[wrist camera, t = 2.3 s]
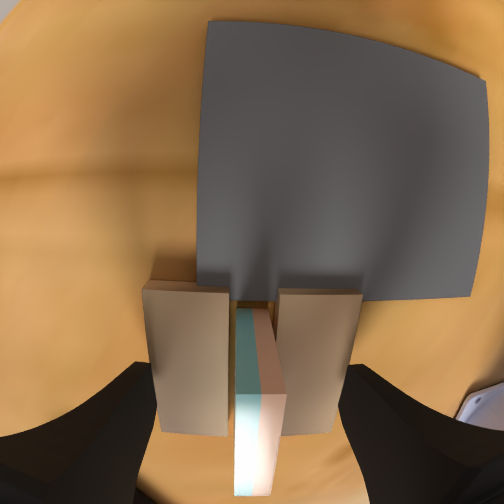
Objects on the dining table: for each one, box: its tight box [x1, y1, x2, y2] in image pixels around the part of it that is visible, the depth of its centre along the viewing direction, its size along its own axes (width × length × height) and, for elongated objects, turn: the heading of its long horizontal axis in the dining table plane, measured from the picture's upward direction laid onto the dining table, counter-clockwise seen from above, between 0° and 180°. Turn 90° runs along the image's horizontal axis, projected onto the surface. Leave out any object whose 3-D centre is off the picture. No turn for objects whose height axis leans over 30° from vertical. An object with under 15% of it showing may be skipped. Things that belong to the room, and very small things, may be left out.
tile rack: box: [142, 280, 363, 436], centre depth 12 cm, size 8×7×1 cm
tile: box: [234, 308, 287, 496], centre depth 10 cm, size 1×5×5 cm, turn 177°
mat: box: [197, 21, 489, 301], centre depth 10 cm, size 12×10×1 cm
